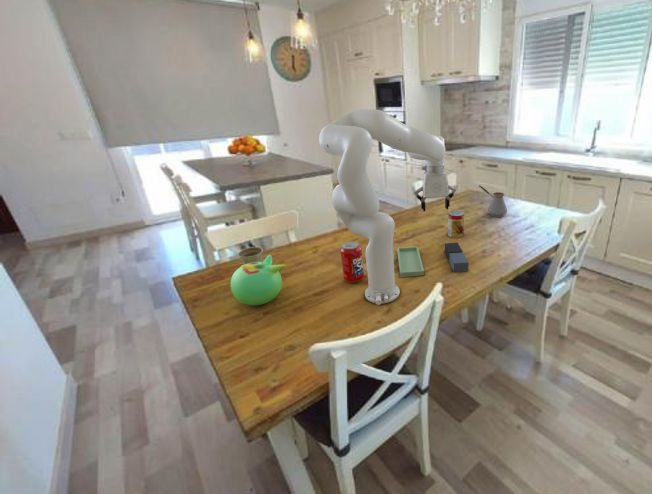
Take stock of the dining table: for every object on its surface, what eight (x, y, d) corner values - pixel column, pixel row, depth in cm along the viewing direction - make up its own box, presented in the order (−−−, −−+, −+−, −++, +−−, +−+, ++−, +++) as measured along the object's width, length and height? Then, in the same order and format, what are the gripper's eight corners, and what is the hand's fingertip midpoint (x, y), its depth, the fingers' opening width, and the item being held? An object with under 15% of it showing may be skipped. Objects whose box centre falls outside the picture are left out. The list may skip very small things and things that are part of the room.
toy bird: (229, 298, 116) (218, 262, 110) (276, 280, 127) (268, 247, 121) (246, 321, 104) (235, 282, 98) (296, 299, 115) (288, 263, 109)
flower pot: (267, 262, 140) (263, 245, 136) (266, 273, 132) (262, 254, 128) (243, 267, 137) (239, 249, 133) (241, 277, 129) (236, 258, 125)
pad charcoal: (462, 259, 140) (462, 251, 138) (448, 260, 139) (448, 252, 138) (457, 250, 148) (457, 242, 147) (444, 251, 148) (444, 243, 146)
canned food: (466, 236, 162) (467, 214, 157) (452, 238, 160) (452, 216, 155) (458, 230, 169) (459, 209, 164) (445, 233, 166) (445, 211, 161)
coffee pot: (510, 215, 189) (513, 190, 183) (498, 219, 183) (500, 194, 176) (483, 206, 204) (484, 183, 198) (470, 210, 198) (472, 186, 192)
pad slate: (467, 270, 131) (468, 262, 129) (453, 272, 130) (453, 263, 129) (462, 260, 139) (463, 252, 137) (449, 261, 138) (449, 253, 137)
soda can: (342, 275, 129) (338, 242, 123) (362, 272, 131) (358, 239, 125) (345, 285, 122) (341, 250, 116) (366, 281, 125) (362, 247, 118)
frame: (424, 275, 128) (424, 270, 128) (400, 277, 127) (400, 272, 127) (417, 250, 149) (417, 246, 148) (397, 251, 148) (397, 247, 147)
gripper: (414, 172, 122) (416, 214, 129) (458, 169, 124) (457, 210, 131) (412, 168, 129) (413, 207, 136) (454, 165, 131) (453, 204, 138)
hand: (435, 209), depth 134 cm, fingers open, 9 cm apart
